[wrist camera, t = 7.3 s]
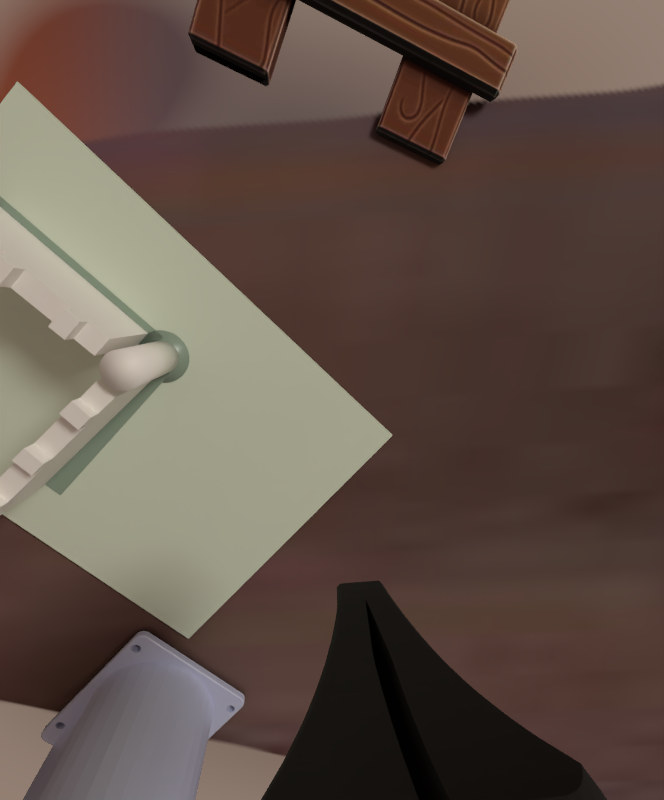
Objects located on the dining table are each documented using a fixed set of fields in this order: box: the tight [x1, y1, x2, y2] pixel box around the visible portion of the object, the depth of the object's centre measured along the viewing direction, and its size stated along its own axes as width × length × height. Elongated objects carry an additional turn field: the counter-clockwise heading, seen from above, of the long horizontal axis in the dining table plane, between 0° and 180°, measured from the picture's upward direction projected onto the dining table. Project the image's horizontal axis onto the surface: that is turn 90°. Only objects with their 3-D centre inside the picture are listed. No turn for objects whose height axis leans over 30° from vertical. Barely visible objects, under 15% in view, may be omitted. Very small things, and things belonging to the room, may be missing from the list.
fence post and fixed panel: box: [0, 207, 179, 391], centre depth 16 cm, size 2×10×5 cm, turn 46°
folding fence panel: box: [0, 379, 150, 515], centre depth 17 cm, size 8×1×5 cm, turn 132°
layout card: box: [0, 82, 393, 639], centre depth 20 cm, size 17×23×1 cm
